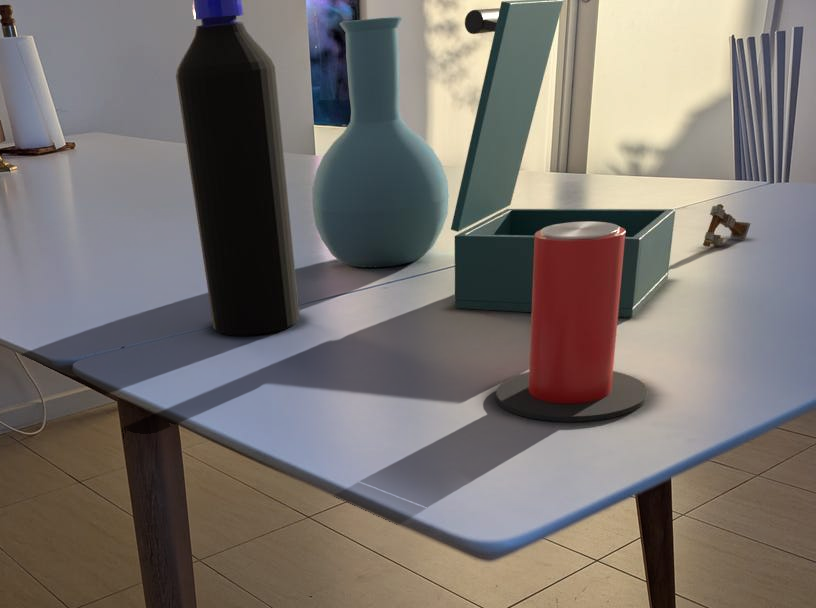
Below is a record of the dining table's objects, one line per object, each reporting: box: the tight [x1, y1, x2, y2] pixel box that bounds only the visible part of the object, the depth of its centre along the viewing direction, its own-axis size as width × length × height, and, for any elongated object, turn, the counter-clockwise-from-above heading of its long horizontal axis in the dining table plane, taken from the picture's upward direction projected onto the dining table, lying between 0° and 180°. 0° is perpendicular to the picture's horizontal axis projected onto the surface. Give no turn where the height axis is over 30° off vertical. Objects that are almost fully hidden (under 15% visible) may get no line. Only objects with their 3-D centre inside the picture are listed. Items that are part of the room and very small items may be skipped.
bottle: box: [175, 0, 300, 337], centre depth 85 cm, size 9×9×28 cm
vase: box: [311, 15, 450, 268], centre depth 108 cm, size 16×16×25 cm
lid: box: [450, 0, 564, 233], centre depth 88 cm, size 18×15×5 cm
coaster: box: [495, 370, 649, 423], centre depth 68 cm, size 11×11×1 cm
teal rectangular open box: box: [454, 208, 676, 319], centre depth 91 cm, size 18×15×7 cm
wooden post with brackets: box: [702, 203, 751, 248], centre depth 106 cm, size 2×8×4 cm, turn 132°
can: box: [528, 222, 625, 404], centre depth 65 cm, size 6×6×11 cm
